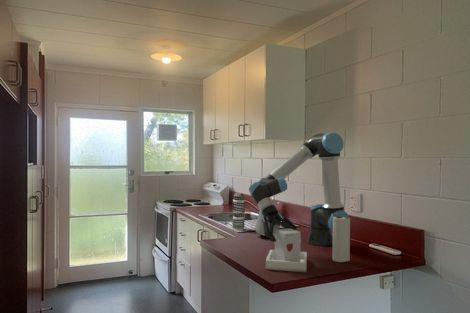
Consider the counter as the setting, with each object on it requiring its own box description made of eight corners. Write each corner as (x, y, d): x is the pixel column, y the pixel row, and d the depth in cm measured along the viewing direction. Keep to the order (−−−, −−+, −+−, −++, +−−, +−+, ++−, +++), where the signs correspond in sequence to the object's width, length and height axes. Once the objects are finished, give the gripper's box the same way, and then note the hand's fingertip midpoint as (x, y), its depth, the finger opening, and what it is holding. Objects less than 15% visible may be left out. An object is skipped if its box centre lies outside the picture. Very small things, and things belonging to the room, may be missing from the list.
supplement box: (284, 266, 154) (284, 233, 154) (274, 260, 162) (274, 229, 162) (300, 263, 158) (301, 231, 158) (289, 258, 166) (290, 227, 166)
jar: (279, 233, 225) (279, 195, 225) (288, 238, 211) (288, 198, 211) (252, 234, 220) (252, 196, 220) (259, 240, 206) (260, 199, 206)
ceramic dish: (306, 260, 166) (306, 252, 166) (306, 272, 149) (306, 263, 149) (270, 257, 170) (270, 249, 170) (265, 269, 153) (265, 260, 153)
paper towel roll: (330, 260, 166) (330, 217, 166) (336, 258, 171) (336, 215, 171) (343, 263, 161) (344, 219, 161) (349, 261, 165) (350, 217, 165)
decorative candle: (229, 228, 237) (229, 193, 237) (239, 226, 243) (239, 192, 243) (237, 230, 230) (238, 194, 230) (247, 229, 236) (248, 193, 236)
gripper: (281, 211, 180) (303, 245, 168) (245, 215, 164) (266, 253, 152) (288, 202, 175) (311, 236, 164) (252, 206, 160) (274, 244, 148)
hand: (289, 245), depth 158 cm, fingers open, 13 cm apart
